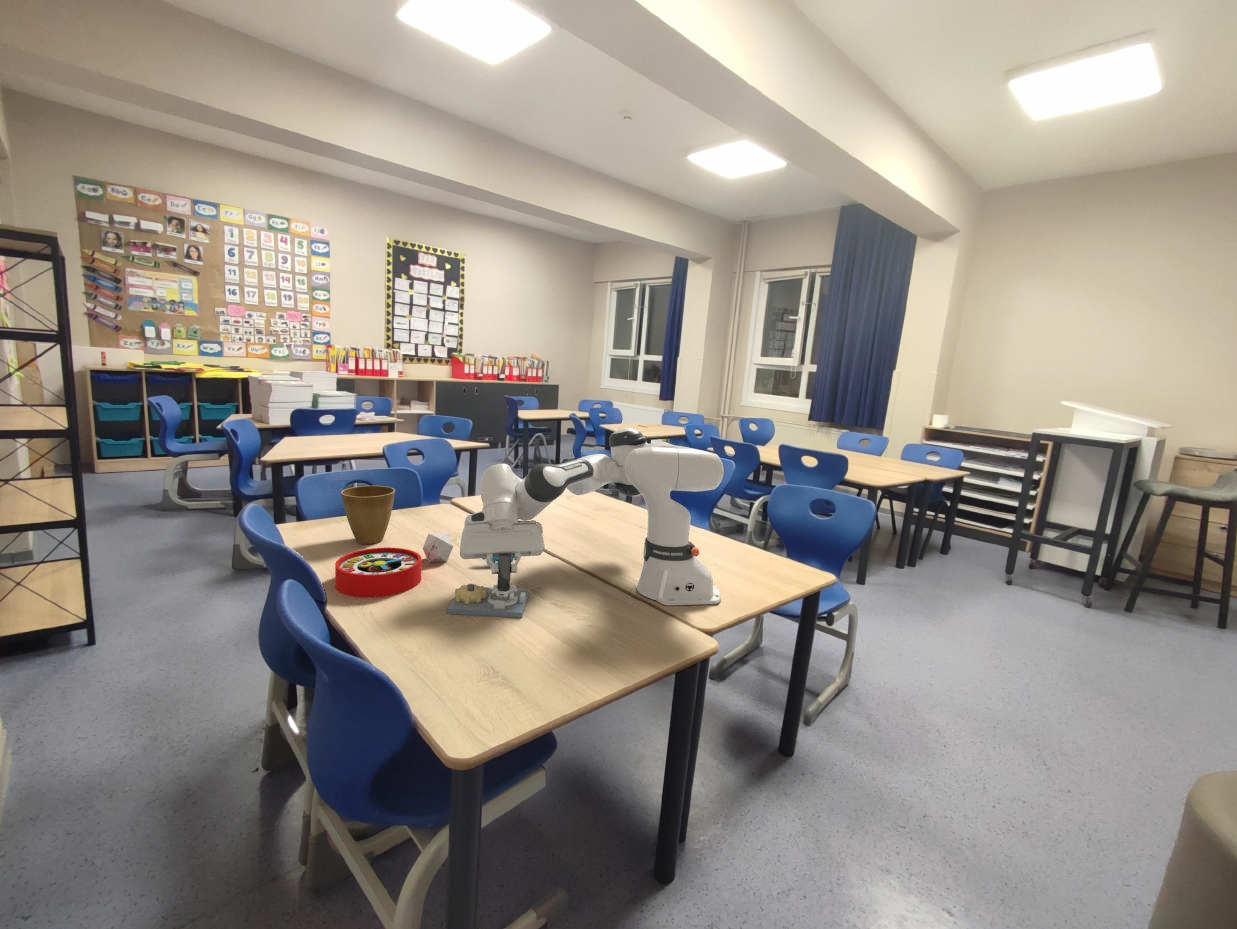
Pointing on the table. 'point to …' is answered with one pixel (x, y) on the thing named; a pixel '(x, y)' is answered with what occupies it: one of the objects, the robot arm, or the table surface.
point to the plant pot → (368, 511)
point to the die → (437, 547)
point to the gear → (503, 580)
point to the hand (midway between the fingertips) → (504, 572)
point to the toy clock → (377, 572)
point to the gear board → (486, 602)
